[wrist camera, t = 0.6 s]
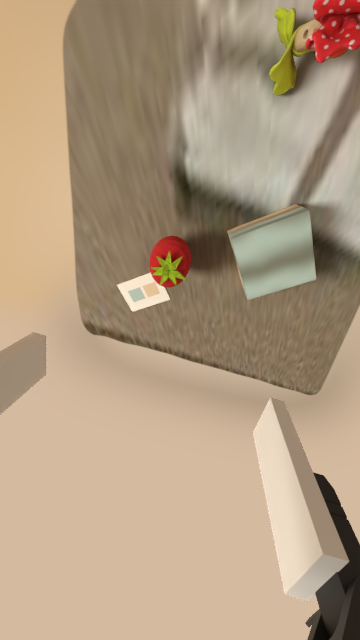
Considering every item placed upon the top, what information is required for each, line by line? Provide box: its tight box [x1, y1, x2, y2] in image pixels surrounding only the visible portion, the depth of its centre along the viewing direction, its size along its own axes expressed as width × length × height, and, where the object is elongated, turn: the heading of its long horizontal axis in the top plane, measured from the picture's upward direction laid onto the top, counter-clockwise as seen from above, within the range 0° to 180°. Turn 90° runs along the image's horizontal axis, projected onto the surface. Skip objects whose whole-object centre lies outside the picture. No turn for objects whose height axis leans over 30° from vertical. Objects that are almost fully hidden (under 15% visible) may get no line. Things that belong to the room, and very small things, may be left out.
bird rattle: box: [269, 0, 360, 95], centre depth 21 cm, size 6×11×9 cm
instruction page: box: [117, 273, 170, 312], centre depth 42 cm, size 6×8×1 cm
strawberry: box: [150, 236, 191, 287], centre depth 34 cm, size 6×8×10 cm
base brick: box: [227, 204, 316, 300], centre depth 35 cm, size 10×10×5 cm
